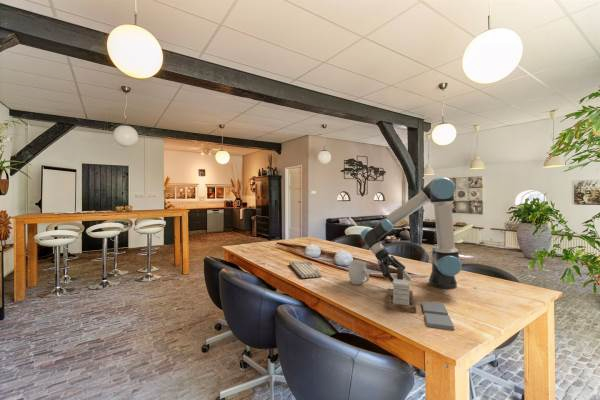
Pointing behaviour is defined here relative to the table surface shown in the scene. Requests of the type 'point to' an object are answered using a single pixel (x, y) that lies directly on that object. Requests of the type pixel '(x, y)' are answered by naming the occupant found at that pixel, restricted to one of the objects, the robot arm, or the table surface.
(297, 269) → the mechanical keyboard
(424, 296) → the table surface
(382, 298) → the table surface
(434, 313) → the broken grey strip
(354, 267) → the mug
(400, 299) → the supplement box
